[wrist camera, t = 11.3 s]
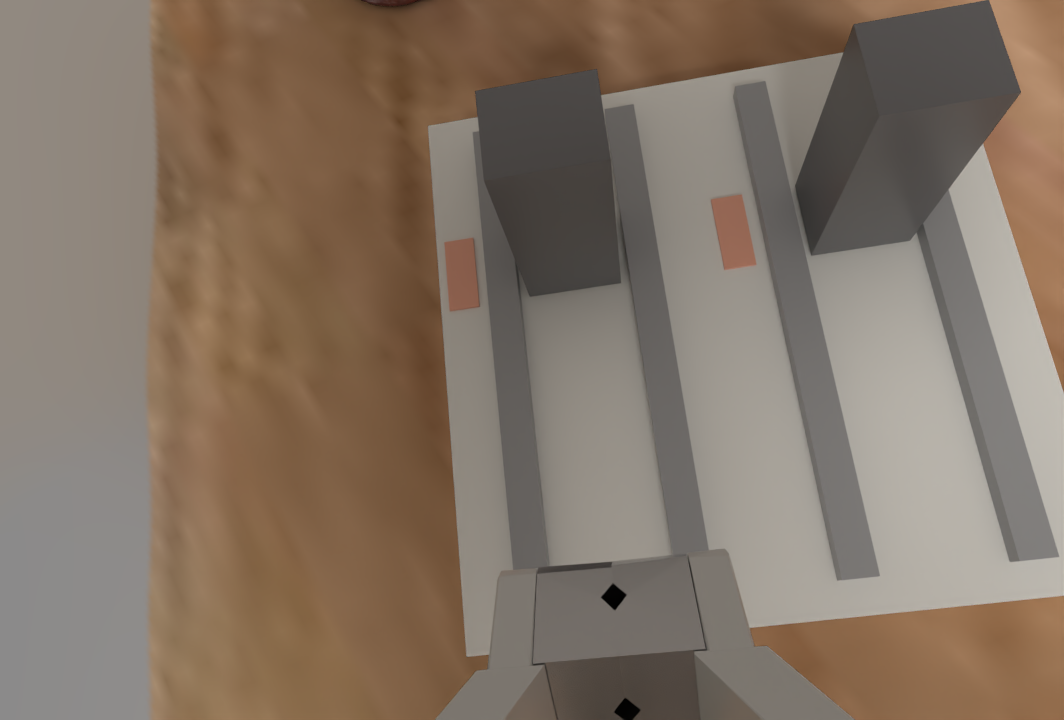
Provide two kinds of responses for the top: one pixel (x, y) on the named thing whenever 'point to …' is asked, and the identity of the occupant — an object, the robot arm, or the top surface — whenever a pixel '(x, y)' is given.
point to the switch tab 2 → (902, 124)
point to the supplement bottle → (390, 2)
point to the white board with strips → (751, 376)
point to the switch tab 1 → (552, 180)
